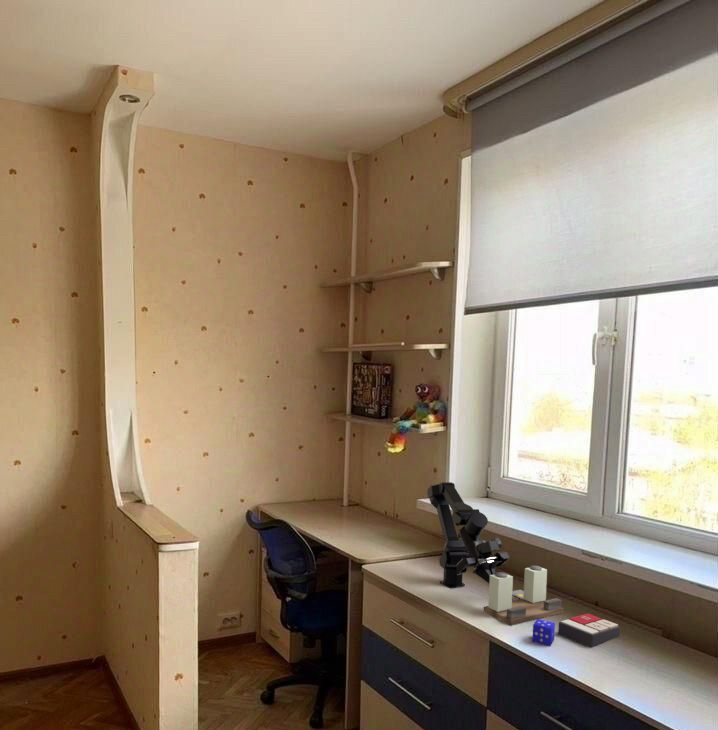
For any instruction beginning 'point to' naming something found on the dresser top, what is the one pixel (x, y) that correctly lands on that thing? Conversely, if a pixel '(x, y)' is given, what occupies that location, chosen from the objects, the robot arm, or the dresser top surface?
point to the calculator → (588, 630)
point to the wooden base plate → (527, 611)
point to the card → (518, 594)
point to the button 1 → (500, 591)
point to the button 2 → (535, 584)
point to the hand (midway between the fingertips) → (495, 586)
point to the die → (543, 632)
